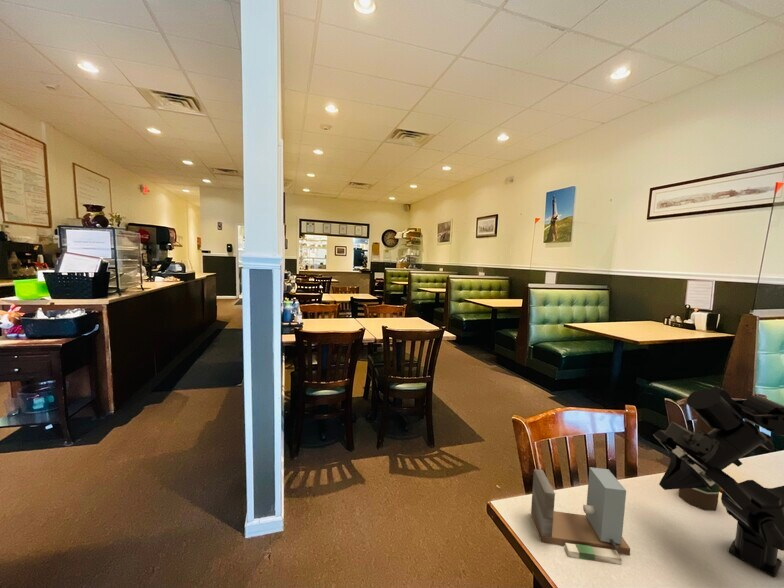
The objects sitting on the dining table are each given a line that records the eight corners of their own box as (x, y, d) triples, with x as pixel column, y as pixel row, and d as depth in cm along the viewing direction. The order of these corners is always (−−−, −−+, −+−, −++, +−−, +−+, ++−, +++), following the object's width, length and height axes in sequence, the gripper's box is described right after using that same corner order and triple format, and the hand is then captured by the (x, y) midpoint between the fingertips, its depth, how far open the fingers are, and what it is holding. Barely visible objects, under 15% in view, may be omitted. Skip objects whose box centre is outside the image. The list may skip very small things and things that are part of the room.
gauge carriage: (604, 518, 73) (608, 469, 72) (627, 553, 64) (632, 498, 63) (576, 514, 74) (580, 466, 73) (595, 548, 65) (600, 494, 64)
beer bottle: (670, 494, 84) (679, 408, 82) (685, 486, 87) (694, 403, 85) (709, 515, 77) (720, 421, 75) (723, 506, 80) (734, 416, 78)
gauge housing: (609, 524, 73) (613, 478, 72) (637, 566, 63) (642, 513, 62) (530, 514, 76) (533, 469, 75) (545, 552, 65) (549, 501, 64)
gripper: (665, 396, 74) (611, 436, 77) (740, 438, 56) (665, 488, 58) (699, 431, 74) (643, 470, 76) (786, 485, 55) (708, 534, 58)
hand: (661, 487), depth 67 cm, fingers closed
